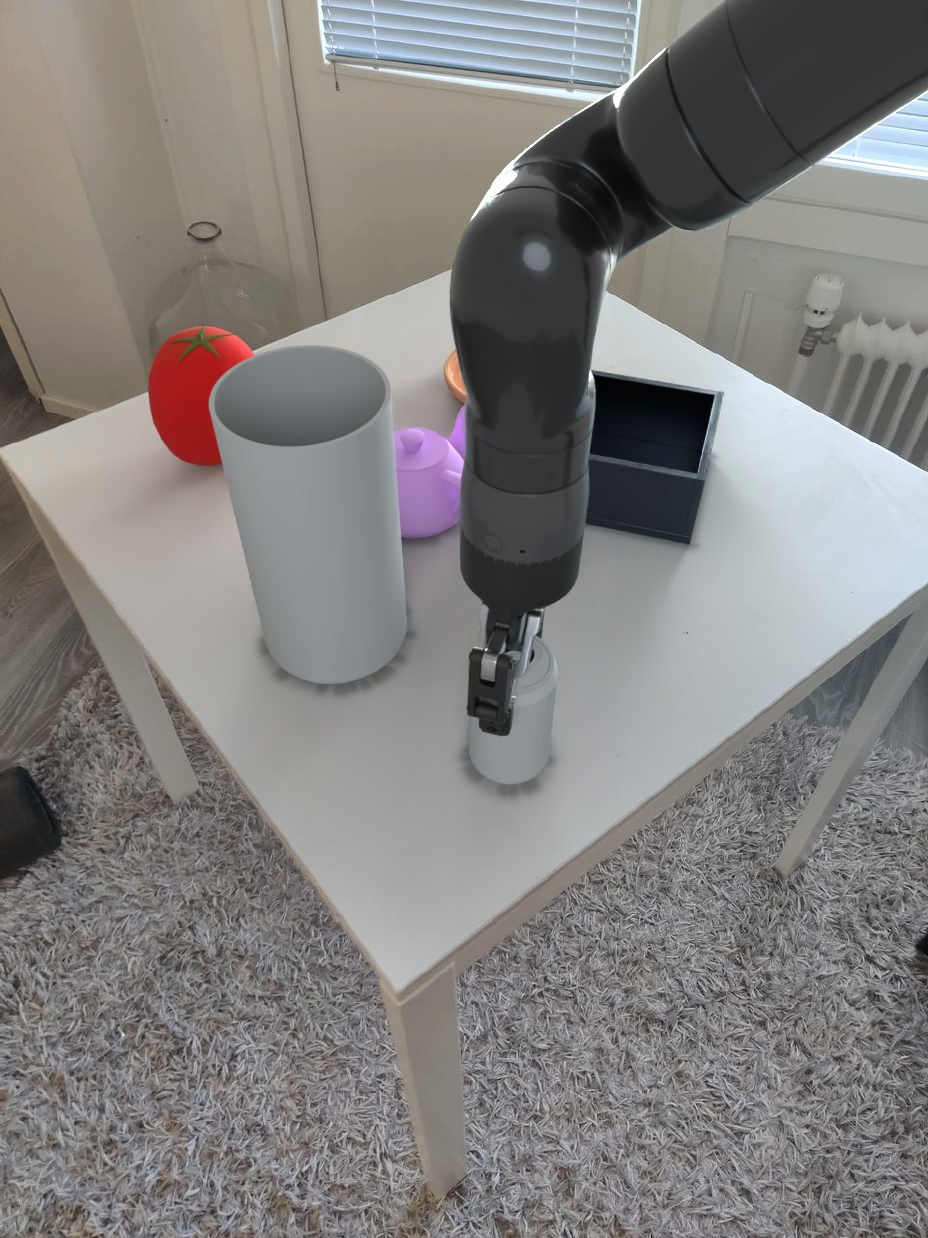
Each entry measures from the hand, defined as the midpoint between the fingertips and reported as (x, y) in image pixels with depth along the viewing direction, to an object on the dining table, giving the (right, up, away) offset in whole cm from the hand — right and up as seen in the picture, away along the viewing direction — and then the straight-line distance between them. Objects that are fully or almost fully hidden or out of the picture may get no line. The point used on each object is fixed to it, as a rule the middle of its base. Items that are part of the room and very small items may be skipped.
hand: (511, 683), depth 68 cm
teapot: (-8, +16, +27) cm, 32 cm away
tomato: (-29, +23, +33) cm, 50 cm away
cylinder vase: (-15, +3, +16) cm, 22 cm away
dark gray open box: (+14, +19, +29) cm, 37 cm away
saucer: (+2, +31, +41) cm, 52 cm away
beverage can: (0, -6, +7) cm, 9 cm away
